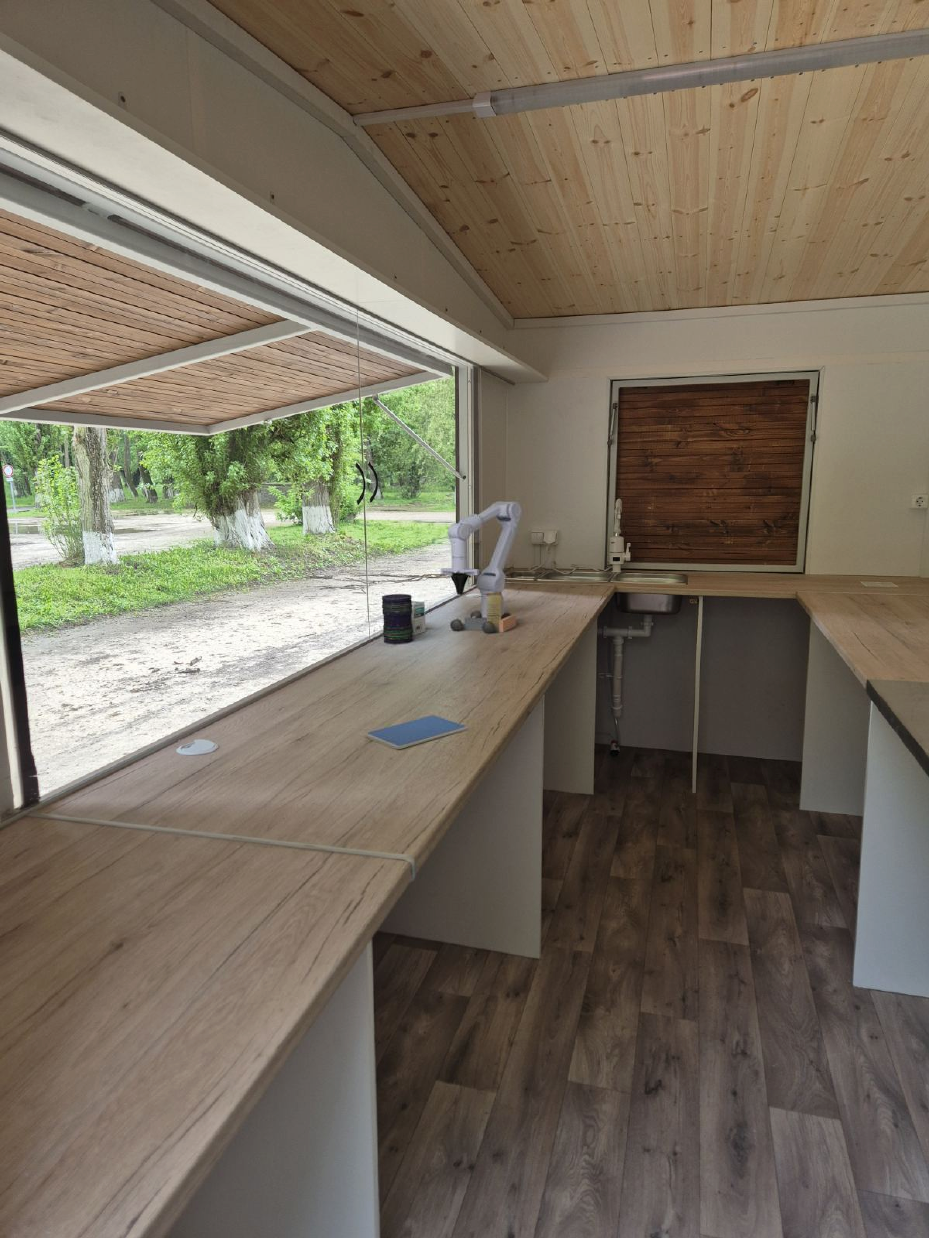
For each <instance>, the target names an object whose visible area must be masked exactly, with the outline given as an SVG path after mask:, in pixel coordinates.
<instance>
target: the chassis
mask: <svg viewBox="0 0 929 1238" xmlns="http://www.w3.org/2000/svg"><path fill="white" fill-rule="evenodd" d="M516 618H517V615H516V614H512V613H510V612H504V614H503V615H502V616H501V620H500V621H499V626H497V625H494V624H493V623H492V622H491V621H487V618H482V611H479V610H475V611H472V612H471V613H470V617H467V616H466V617H464V623H463V621H462V620H460V619H459V618H456V619H453V620H452V621H450V629H451V630H452V631H454V632H459V631H460V630H463V631H464V630H465V631H479V632H483V633H485V634H491V633H493V632H495V633H504V632H507V631H508V630H511V629H514V628H515V627H516V626H517V622H516V621H517V619H516Z"/></svg>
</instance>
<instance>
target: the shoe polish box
mask: <svg viewBox="0 0 929 1238" xmlns="http://www.w3.org/2000/svg"><path fill="white" fill-rule="evenodd" d="M501 594H502V593H487V595H486V600H487V618H486V619H487V621H491V622H492V623H493V624H494V625H497V626H499V621H500V620H501Z"/></svg>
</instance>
